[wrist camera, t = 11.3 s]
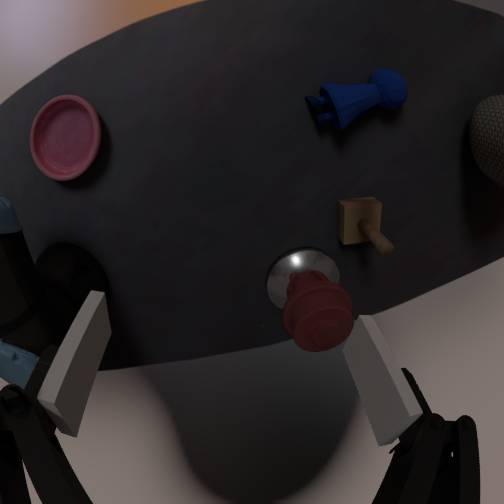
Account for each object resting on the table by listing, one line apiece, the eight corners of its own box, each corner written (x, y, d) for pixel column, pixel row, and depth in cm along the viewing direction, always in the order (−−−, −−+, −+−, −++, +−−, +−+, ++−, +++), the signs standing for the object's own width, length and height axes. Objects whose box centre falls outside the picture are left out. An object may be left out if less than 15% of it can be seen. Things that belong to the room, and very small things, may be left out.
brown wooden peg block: (337, 236, 45) (364, 273, 35) (337, 200, 42) (368, 230, 32) (371, 231, 45) (403, 266, 35) (373, 196, 42) (409, 225, 32)
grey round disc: (260, 305, 50) (261, 310, 48) (273, 242, 44) (274, 247, 43) (325, 308, 51) (327, 314, 50) (344, 250, 46) (348, 255, 45)
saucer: (38, 103, 30) (27, 104, 28) (107, 88, 31) (98, 87, 29) (44, 179, 36) (33, 184, 33) (109, 172, 37) (101, 178, 34)
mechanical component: (340, 256, 45) (328, 306, 49) (278, 255, 44) (272, 308, 48) (371, 304, 34) (351, 358, 38) (294, 307, 33) (283, 364, 38)
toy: (318, 133, 38) (404, 105, 35) (331, 139, 32) (427, 108, 30) (300, 89, 35) (390, 63, 32) (310, 87, 29) (412, 61, 27)
